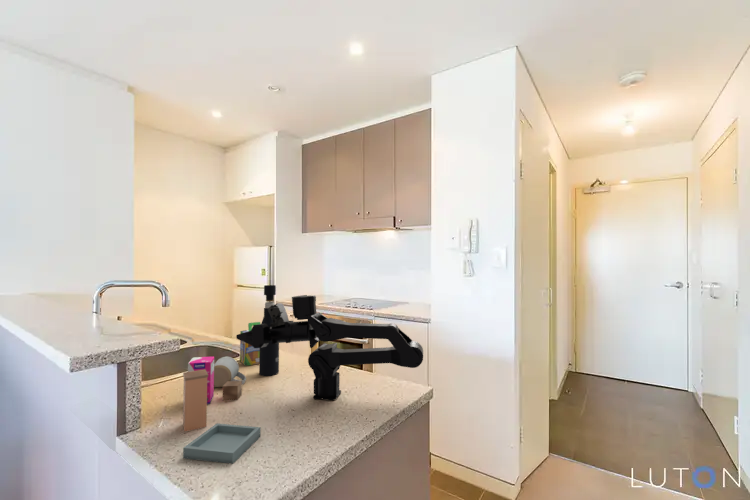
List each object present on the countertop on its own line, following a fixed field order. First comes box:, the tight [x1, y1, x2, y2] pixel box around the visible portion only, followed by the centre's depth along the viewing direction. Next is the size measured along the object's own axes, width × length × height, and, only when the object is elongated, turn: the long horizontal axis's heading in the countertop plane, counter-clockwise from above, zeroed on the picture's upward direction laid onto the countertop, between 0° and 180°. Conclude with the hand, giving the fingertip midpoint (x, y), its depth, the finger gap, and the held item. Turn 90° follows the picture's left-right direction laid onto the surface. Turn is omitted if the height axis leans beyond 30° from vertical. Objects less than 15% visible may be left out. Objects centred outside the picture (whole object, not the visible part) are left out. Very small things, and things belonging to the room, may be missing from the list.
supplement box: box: [187, 355, 215, 405], centre depth 97 cm, size 6×6×12 cm
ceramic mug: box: [214, 356, 247, 389], centre depth 111 cm, size 11×8×8 cm
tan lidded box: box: [182, 369, 208, 433], centre depth 83 cm, size 5×5×12 cm
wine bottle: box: [258, 284, 280, 377], centre depth 122 cm, size 6×6×30 cm
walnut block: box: [222, 381, 243, 401], centre depth 100 cm, size 4×4×4 cm
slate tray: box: [182, 422, 262, 465], centre depth 73 cm, size 11×11×2 cm
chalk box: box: [239, 321, 262, 367], centre depth 136 cm, size 9×9×15 cm
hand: (244, 335), depth 105 cm, fingers open, 9 cm apart
